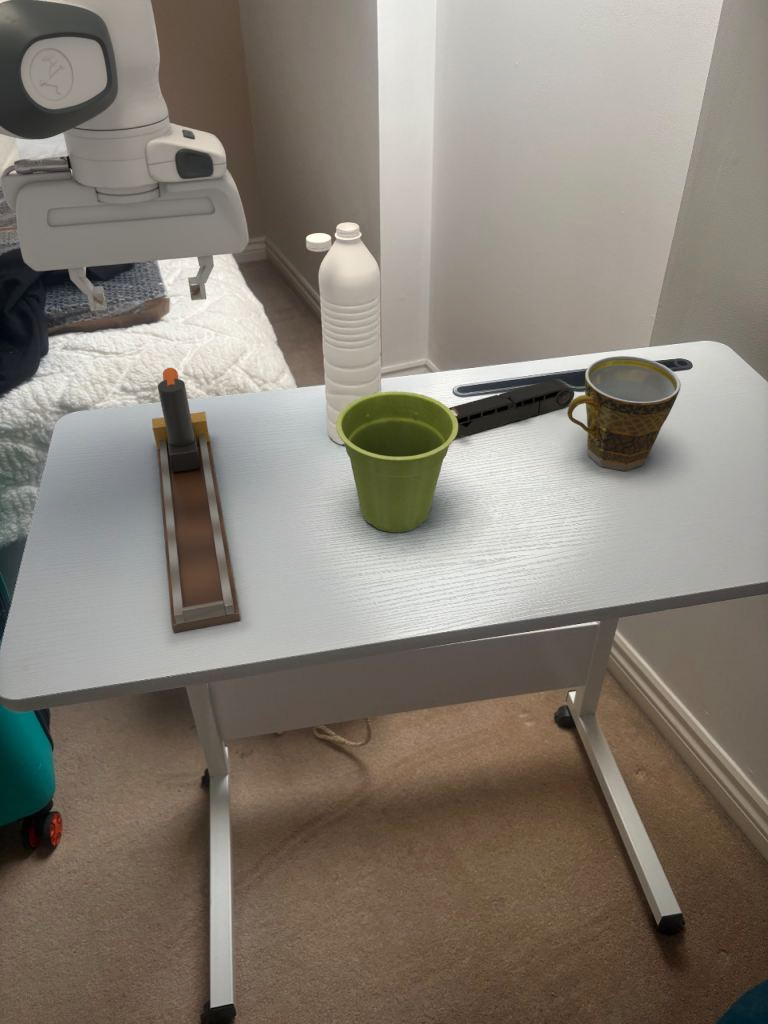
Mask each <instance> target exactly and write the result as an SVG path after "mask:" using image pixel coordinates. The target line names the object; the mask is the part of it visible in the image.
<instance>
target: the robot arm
mask: <svg viewBox="0 0 768 1024" xmlns="http://www.w3.org/2000/svg"><path fill="white" fill-rule="evenodd" d="M154 14H155V13H154V9H153V5H152V0H0V135H3V136H5V137H10V138H14V139H19V140H27V141H28V140H29V141H31V140H32V141H33V140H47V139H50V138H54V137H56V136H58V135H61V134H63V137H64V142H65V147H66V152H67V155H66V156H65V155H63V156H53V157H51V156H50V157H46V158H40V159H30V158H21V159H17V160H14V161H13V164H12V165H9V166H8V167H7V168H5V169H4V170H3V172H2V173H1V176H0V187H1V190H2V195H3V198H4V201H5V203H6V206H7V207H8V208H9V209H10V210H11V211H12V212H13V213H14V214H15V219H16V228H17V229H16V230H17V237H18V242H19V243H18V244H19V248H20V252H21V257H22V260H23V263H24V264H26V266H28V267H29V268H31V270H33V271H35V272H46V271H47V272H48V271H56V270H57V271H58V270H67V271H68V275H69V280H71V281H72V283H73V284H74V285H76V287H77V288H78V289H79V290H80V291H81V292H82V294H84V295H86V297H87V302H88V305H89V310H90V311H91V312H96V311H104V310H107V308H108V307H107V305H108V304H107V298H106V296H105V290H104V285H96V286H94V284H93V283H92V282H91V281H90V279H88V277H87V268H89V267H101V266H112V265H122V264H134V263H147V262H156V261H166V260H167V261H168V260H177V259H179V260H180V259H188V258H190V259H191V258H197V261H198V266H199V268H198V271H197V273H196V275H195V276H192V277H187V281H188V287H189V295H190V299H191V301H192V302H194V301H203V300H207V291H206V284H207V282H208V279H209V278H210V275H211V273H212V271H213V269H214V268H215V267H214V266H215V264H214V256H222V255H233V254H240V253H243V252H244V250H245V249H246V248H247V246H248V245H249V243H250V236H249V229H248V223H247V219H246V214H245V209H244V206H243V202H242V199H241V196H240V192H239V190H238V186H237V184H236V182H235V180H234V178H233V176H232V174H231V172H230V171H229V169H228V168H227V154H226V150H225V148H224V146H223V143H222V141H220V139H219V138H218V137H217V136H216V135H215V134H212V133H210V132H207V131H203V130H199V129H195V128H191V127H187V126H183V125H179V124H176V123H172V122H171V121H170V116H169V109H168V106H167V103H166V101H165V98H164V96H163V93H162V90H161V86H160V85H161V84H160V79H159V76H160V75H159V72H160V64H161V54H160V53H161V51H160V46H159V39H158V32H157V26H156V21H155V20H156V19H155V15H154ZM14 171H15V172H14ZM12 172H13V173H12Z"/></svg>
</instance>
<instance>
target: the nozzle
mask: <svg viewBox="0 0 768 1024" xmlns="http://www.w3.org/2000/svg"><path fill="white" fill-rule="evenodd" d="M157 392H158V396H159V401H160V405H161V411H162V416H163V417H164V420H165V425H166V430H167V436H168V446H169V456H170V460H171V465H172V470H173V472H179V471H186V470H192V469H199V468H200V461H199V454H198V448H197V441H196V436H195V430H194V427H193V426H192V421H191V415H190V414H191V411H190V405H189V400H188V394H187V389H186V383H185V382H184V380H182V379H181V378H179V373H178V370H176V368H173V367H167V368H165V369H164V370H163V372H162V381H160V382H159V383H158V384H157Z"/></svg>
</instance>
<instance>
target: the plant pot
mask: <svg viewBox="0 0 768 1024" xmlns="http://www.w3.org/2000/svg"><path fill="white" fill-rule="evenodd" d="M449 408H450V407H449V406H448V405H446V404H444V403H443V402H441V401H440V400H437V399H435V398H434V397H431V396H428V395H425V394H419V393H417V392H410V391H398V390H397V391H395V390H394V391H381V392H380V393H375V394H371V395H367V396H364V397H361V398H359V399H357V400H355V401H353V402H351V403H350V404H348V405H347V406H346V407H345V408H344V409H343V410H342V411H341V412H340V414H339V416H338V418H337V422H336V428H337V432H338V435H339V437H340V438H341V440H342V441H343V442H344V443H345V444H344V447H345V451H346V453H347V455H348V457H349V461H350V465H351V470H352V474H353V480H354V484H355V488H356V493H357V498H358V499H357V500H358V503H359V509H360V511H361V512H360V513H361V516H362V517H363V519H364V521H365V522H367V523H368V524H370V525H372V526H374V527H375V528H376V529H378V530H380V531H384V532H389V533H403V532H408V531H412V530H414V529H416V528H417V527H419V525H421V524H422V523H424V522H426V520H428V517H429V514H430V511H431V507H432V503H433V500H434V496H435V492H436V488H437V485H438V481H439V477H440V473H441V469H442V467H443V462H444V459H445V458H446V456H447V455H448V451H449V447H450V445H451V444H452V443H453V442H454V441H455V440H456V439H457V438H456V435H457V432H458V421H457V418H456V417H455V415H454V413H453V412H452V411H451V410H450V409H449Z"/></svg>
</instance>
